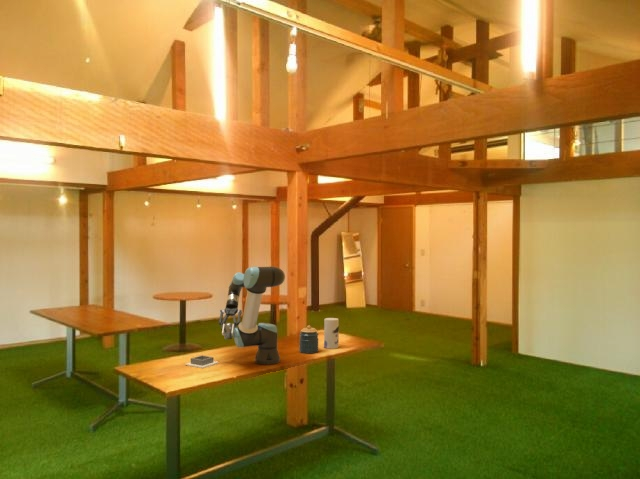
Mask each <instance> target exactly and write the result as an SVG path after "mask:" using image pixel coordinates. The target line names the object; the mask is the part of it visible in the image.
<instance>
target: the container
mask: <svg viewBox="0 0 640 479" xmlns="http://www.w3.org/2000/svg"><path fill="white" fill-rule="evenodd" d="M323 320H324V323H323V324H324V325H323V329H324V330H323V332H324V334H323V336H324V337H323V341H324V342H323V346H324V347H323V348H325V349H328V350H331V349H332V350H334V349H338V348H339V339H340V338H339V337H340V336H339V334H340V332H339V329H340V328H339V326H340V325H339V323H340V322H339V318H338V317H337V318H336V317H326V318H324V319H323Z"/></svg>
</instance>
